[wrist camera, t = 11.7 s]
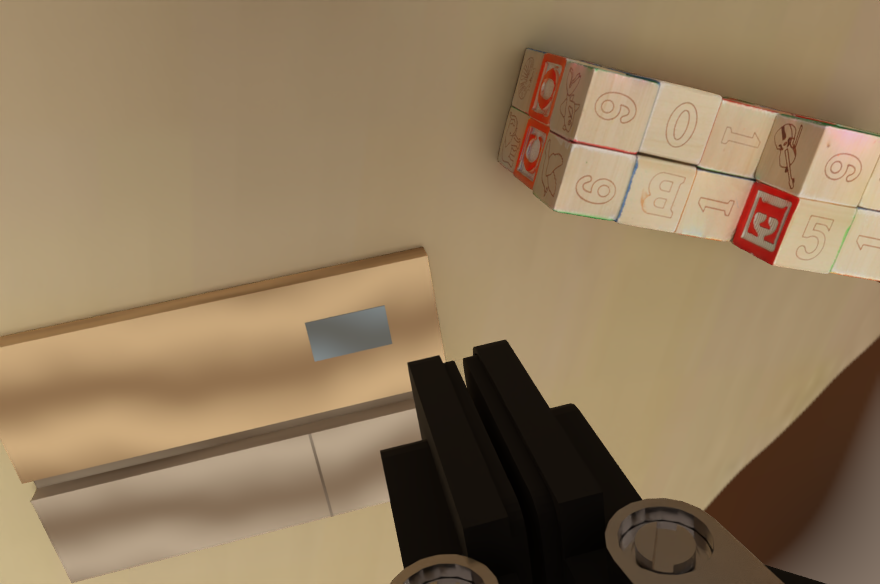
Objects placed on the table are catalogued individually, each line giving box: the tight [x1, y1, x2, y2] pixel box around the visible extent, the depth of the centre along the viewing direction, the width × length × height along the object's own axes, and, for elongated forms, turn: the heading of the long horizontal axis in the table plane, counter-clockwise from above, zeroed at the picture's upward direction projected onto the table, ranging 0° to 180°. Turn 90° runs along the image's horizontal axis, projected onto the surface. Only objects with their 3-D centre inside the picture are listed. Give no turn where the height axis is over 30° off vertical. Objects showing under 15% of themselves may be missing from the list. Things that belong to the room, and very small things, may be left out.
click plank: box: [0, 247, 446, 484], centre depth 39 cm, size 8×24×2 cm, turn 99°
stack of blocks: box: [498, 48, 880, 283], centre depth 35 cm, size 21×6×12 cm, turn 77°
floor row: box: [31, 391, 422, 583], centre depth 42 cm, size 7×24×2 cm, turn 99°
